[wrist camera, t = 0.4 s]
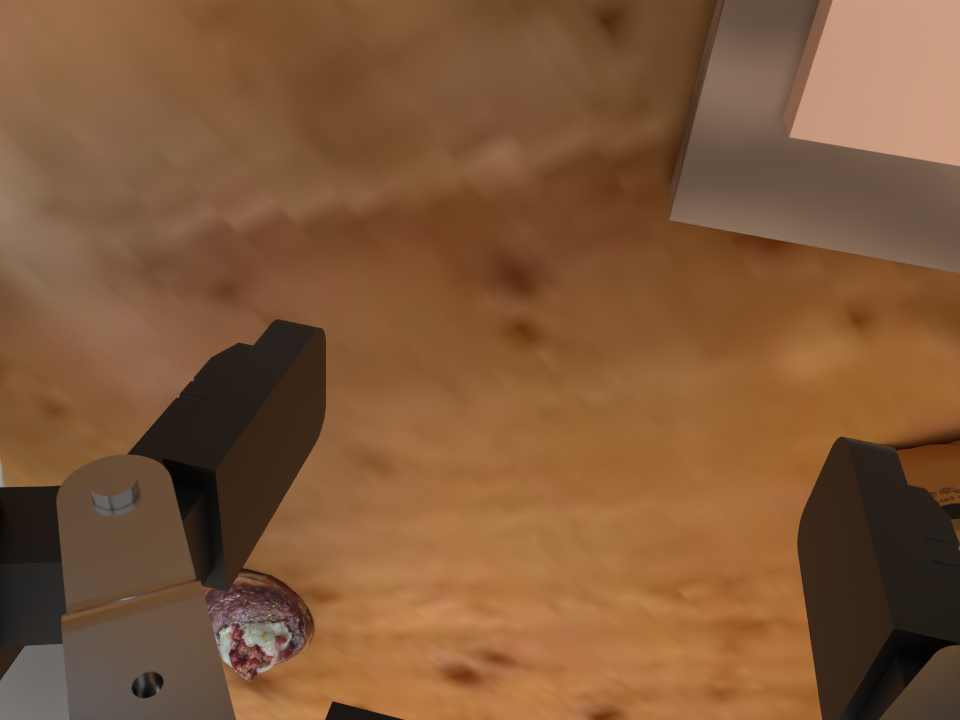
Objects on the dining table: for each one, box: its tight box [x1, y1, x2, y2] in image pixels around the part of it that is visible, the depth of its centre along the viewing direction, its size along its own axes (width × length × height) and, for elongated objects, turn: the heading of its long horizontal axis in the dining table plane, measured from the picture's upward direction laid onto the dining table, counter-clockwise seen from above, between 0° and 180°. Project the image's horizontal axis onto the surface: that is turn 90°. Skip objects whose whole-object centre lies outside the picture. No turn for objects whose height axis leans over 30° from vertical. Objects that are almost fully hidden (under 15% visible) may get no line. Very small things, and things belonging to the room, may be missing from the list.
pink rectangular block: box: [783, 0, 960, 166], centre depth 26 cm, size 9×6×2 cm, turn 173°
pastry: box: [204, 569, 313, 681], centre depth 55 cm, size 8×8×5 cm
